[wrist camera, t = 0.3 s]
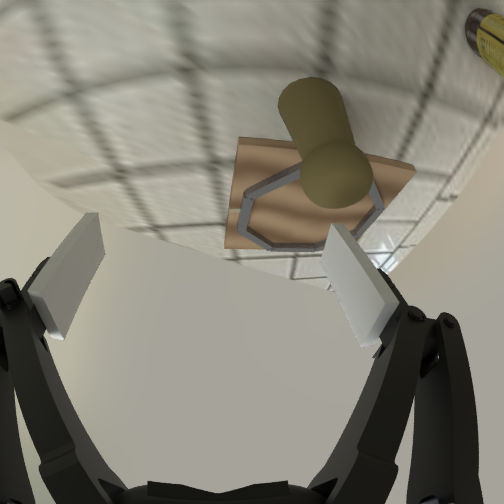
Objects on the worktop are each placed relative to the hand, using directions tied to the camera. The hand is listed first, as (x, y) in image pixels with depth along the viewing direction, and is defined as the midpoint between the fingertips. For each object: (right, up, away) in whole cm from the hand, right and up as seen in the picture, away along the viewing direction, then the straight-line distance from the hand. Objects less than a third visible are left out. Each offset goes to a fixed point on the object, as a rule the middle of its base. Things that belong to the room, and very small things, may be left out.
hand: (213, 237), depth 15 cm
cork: (+7, +13, +7) cm, 17 cm away
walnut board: (+10, +6, +22) cm, 25 cm away
